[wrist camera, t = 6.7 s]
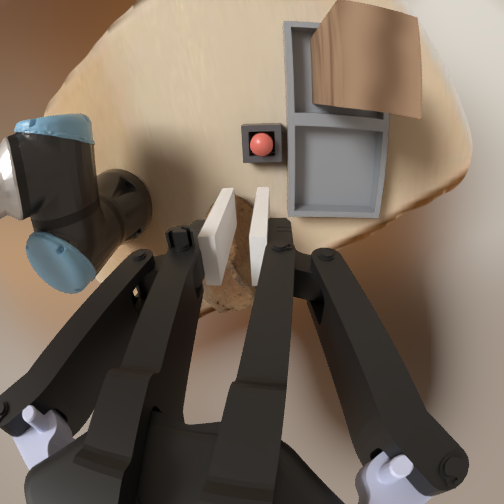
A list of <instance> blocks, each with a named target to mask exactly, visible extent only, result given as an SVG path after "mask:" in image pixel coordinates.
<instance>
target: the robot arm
mask: <svg viewBox="0 0 504 504" xmlns="http://www.w3.org/2000/svg"><path fill="white" fill-rule="evenodd" d="M15 133H16V134H13V135H11V136H8V137H5V138H4V139H3V141H2V143H1V144H0V219H1V218H3V217H5V216H7V215H9V216H12V217H14V218H16V219H18V220H23V219H25V218H28V217H31V221H32V224H33V228H34V233H32V234H31V235H30V236H29V239H28V240H27V245H26V253H27V257H28V259H29V262H30V263H31V265H32V267H33V268H34V270H35V271H36V272H37V274H38V275H39V276H40V277H41V278H42V279H43V280H44V281H45V282H46V283H48V284H49V285H50V286H52V287H53V288H55V289H57V290H59V291H61V292H64V293H70V294H74V293H78V292H81V291H82V290H83V289H84V288H85V287H86V286H87V285H88V284H89V283H90V282H91V281H93V280H94V279H95V277H96V275H97V274H98V273H99V271H100V270H101V269H102V267H103V266H104V265H105V263H106V262H107V261H108V259H109V258H110V257H111V256H112V254H113V253H114V252H115V251H116V249H117V248H118V247H119V246H120V245H122V244H125V243H127V242H129V241H132V240H134V239H136V238H137V237H138V236H140V235H141V234H142V232H143V231H144V230H145V229H146V227H147V226H148V224H149V222H150V219H151V215H152V204H151V199H150V196H149V194H148V191H147V189H146V188H145V186H144V185H143V183H142V182H141V181H140V180H139V179H138V178H137V177H136V176H134V175H133V174H131V173H129V172H127V171H125V170H121V169H111V170H107V171H105V172H103V173H101V174H100V175H98V176H97V175H96V166H95V154H94V145H95V142H94V141H93V135H92V124H91V120H90V119H89V117H88V116H86V115H84V114H65V115H55V116H47V117H41V118H35V119H30V120H24V121H20V122H18V123H17V124H16V128H15ZM236 227H237V219H236V207H235V194H234V188H222V190H221V192H220V194H219V196H218V198H217V200H216V202H215V204H214V205H213V207H212V209H211V211H210V213H209V215H208V217H207V219H206V220H196V221H195V222H193V223H192V224H191V225H190V226H177V227H174V228H171V229H169V230H168V231H167V232H166V233H165V234H166V238H167V243H168V247H169V249H168V251H167V253H166V254H165V255H160V256H155V257H154V256H153V253H152V251H151V250H148V249H140V250H136V251H135V252H132V253H131V254H130V255H129V256H128V257H127V258H126V259H125V260H124V261H123V262H122V263H121V264H120V265H119V266H118V267H117V268H116V269H115V270H114V271H113V272H112V273H111V274H110V275H109V276H108V277H107V278H106V279H105V280H104V281H103V282H102V283H101V285H100V286H99V287H98V288H97V289H96V290H95V291H94V292H93V293H92V294H91V295H90V297H89V298H88V299H87V300H86V301H85V302H84V303H83V304H82V305H81V307H80V308H79V309H78V310H77V311H76V312H75V313H74V315H73V316H72V317H71V318H70V319H69V320H68V322H67V323H66V324H65V325H64V327H63V328H62V329H61V330H60V331H59V332H58V334H57V335H56V336H55V337H54V339H53V340H52V341H51V342H50V344H49V345H48V346H47V348H46V349H45V350H44V351H43V352H42V354H41V355H40V356H39V358H38V359H37V360H36V362H35V363H34V365H33V366H32V367H31V368H30V370H29V371H28V373H26V374H25V375H24V376H23V377H21V378H20V379H19V380H18V381H17V382H15V383H14V384H13V385H12V386H11V387H9V388H8V389H7V390H6V391H5V392H4V393H3V394H1V395H0V428H1V429H3V430H4V431H5V432H6V433H8V434H9V435H11V436H12V437H13V439H14V441H15V443H16V445H17V447H18V449H19V451H20V453H21V455H22V457H23V459H24V461H25V463H26V465H27V467H28V469H29V472H28V474H27V476H26V479H25V484H24V490H25V491H24V492H25V497H26V503H27V504H344V502H342V501H341V500H340V499H339V498H338V497H337V496H336V495H335V494H334V493H333V492H332V491H331V490H330V489H329V488H328V487H327V485H326V484H325V483H324V482H323V481H322V480H321V479H320V478H319V477H318V476H317V475H316V474H315V473H314V472H313V471H312V470H311V469H310V467H309V466H308V465H307V464H306V463H305V462H304V461H303V460H302V459H301V458H300V456H299V455H298V454H297V453H296V452H295V451H294V450H293V449H292V448H291V447H290V446H289V445H288V444H286V443H285V442H283V441H282V440H281V435H282V427H283V418H284V409H285V399H286V389H287V376H288V363H289V351H290V338H291V323H292V306H293V297H297V298H301V299H306V300H307V305H308V307H309V310H310V313H311V316H312V319H313V321H314V325H315V327H316V330H317V333H318V336H319V339H320V342H321V345H322V348H323V351H324V354H325V357H326V360H327V363H328V366H329V369H330V372H331V375H332V378H333V381H334V384H335V387H336V391H337V393H338V397H339V400H340V403H341V406H342V409H343V413H344V416H345V419H346V423H347V426H348V429H349V433H350V436H351V440H352V443H353V445H354V448H355V451H356V454H357V455H358V458H359V459H360V461H361V463H362V465H363V467H362V468H361V469H360V470H359V472H358V473H357V476H356V479H355V486H356V489H357V492H358V495H359V502H358V504H425V503H426V502H427V501H428V500H429V499H430V498H432V497H434V496H436V495H438V494H440V493H444V492H446V491H448V490H451V489H454V488H456V487H457V486H458V485H459V484H461V483H462V482H463V480H464V478H465V477H466V475H467V472H468V468H469V460H468V456H467V455H466V453H465V451H464V450H463V449H462V448H461V447H460V446H459V444H458V443H457V442H456V441H455V440H454V439H453V438H452V437H451V436H450V435H449V434H448V433H447V432H446V431H445V430H444V428H443V427H442V426H441V425H440V424H439V423H438V422H437V421H436V420H435V419H434V418H433V417H432V416H431V415H430V414H429V413H428V412H427V410H426V408H425V406H424V404H423V402H422V400H421V398H420V395H419V394H418V392H417V389H416V387H415V385H414V383H413V381H412V379H411V377H410V375H409V373H408V371H407V369H406V367H405V365H404V363H403V361H402V359H401V357H400V355H399V353H398V351H397V349H396V347H395V346H394V344H393V342H392V340H391V338H390V336H389V334H388V333H387V331H386V329H385V327H384V325H383V324H382V322H381V320H380V318H379V317H378V315H377V313H376V311H375V310H374V308H373V306H372V305H371V303H370V301H369V299H368V298H367V296H366V294H365V293H364V291H363V289H362V288H361V286H360V284H359V283H358V281H357V280H356V278H355V276H354V275H353V273H352V271H351V270H350V268H349V267H348V265H347V264H346V262H345V261H344V259H343V257H342V256H341V254H340V253H338V251H336V250H334V249H331V248H319V249H316V250H314V251H313V252H312V254H311V255H307V254H303V253H301V252H298V251H297V250H296V249H295V246H294V245H293V238H292V230H291V222H290V221H289V220H288V219H287V218H270V202H269V187H257V192H256V198H255V204H254V210H253V216H252V222H251V227H250V233H249V245H250V262H251V279H252V286H257V288H256V293H255V298H254V302H253V307H252V311H251V316H250V321H249V325H248V329H247V334H246V339H245V343H244V347H243V352H242V356H241V361H240V365H239V369H238V374H237V378H236V380H235V381H234V382H232V384H231V386H230V389H229V392H228V396H227V400H226V404H225V409H224V412H223V417H222V421H221V422H214V423H206V424H195V425H188V424H185V423H184V417H183V406H184V399H185V392H186V386H187V380H188V374H189V368H190V362H191V356H192V351H193V344H194V340H195V334H196V329H197V323H198V318H199V313H200V308H201V303H202V298H203V293H204V288H203V283H202V282H203V279H204V277H205V282H206V285H221V284H222V280H223V276H224V272H225V268H226V264H227V261H228V257H229V253H230V249H231V245H232V242H233V238H234V234H235V230H236ZM135 288H137V291H138V294H137V295H136V296H134V294H133V290H134V289H135ZM93 410H94V412H93ZM92 412H93V415H92V419H91V422H90V425H89V429H88V431H87V432H86V433H84V434H83V435H81V436H80V437H78V438H77V439H76V440H75V439H74V438H72V437H73V436H74V435H75V434H76V433H77V432H78V431H79V430H80V429H81V428H82V426H83V425H84V424H85V423H86V421H87V420H88V418H89V417H90V415H91V414H92Z"/></svg>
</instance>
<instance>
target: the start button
mask: <svg viewBox="0 0 504 504" xmlns="http://www.w3.org/2000/svg"><path fill="white" fill-rule="evenodd" d="M250 148H251V150H252V152H253V153H254V154H256V155H258V156H265V155H268V154H269V153H270V152H271V151H272V148H273V139H272V137H271V135H270V134H268V133H266V132H258V133H256V134H255V135H254V136H253V138H252V140H251V142H250Z"/></svg>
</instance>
